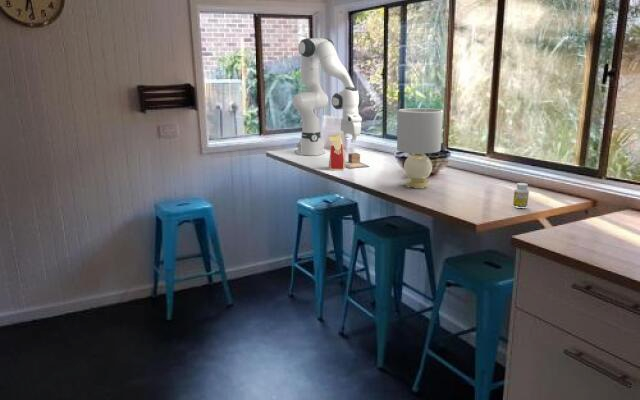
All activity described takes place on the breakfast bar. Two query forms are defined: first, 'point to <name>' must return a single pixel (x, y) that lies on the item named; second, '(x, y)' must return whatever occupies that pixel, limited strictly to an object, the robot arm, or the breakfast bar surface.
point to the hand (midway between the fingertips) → (349, 141)
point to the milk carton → (336, 153)
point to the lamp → (419, 142)
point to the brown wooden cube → (353, 157)
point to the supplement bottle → (521, 195)
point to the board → (355, 165)
